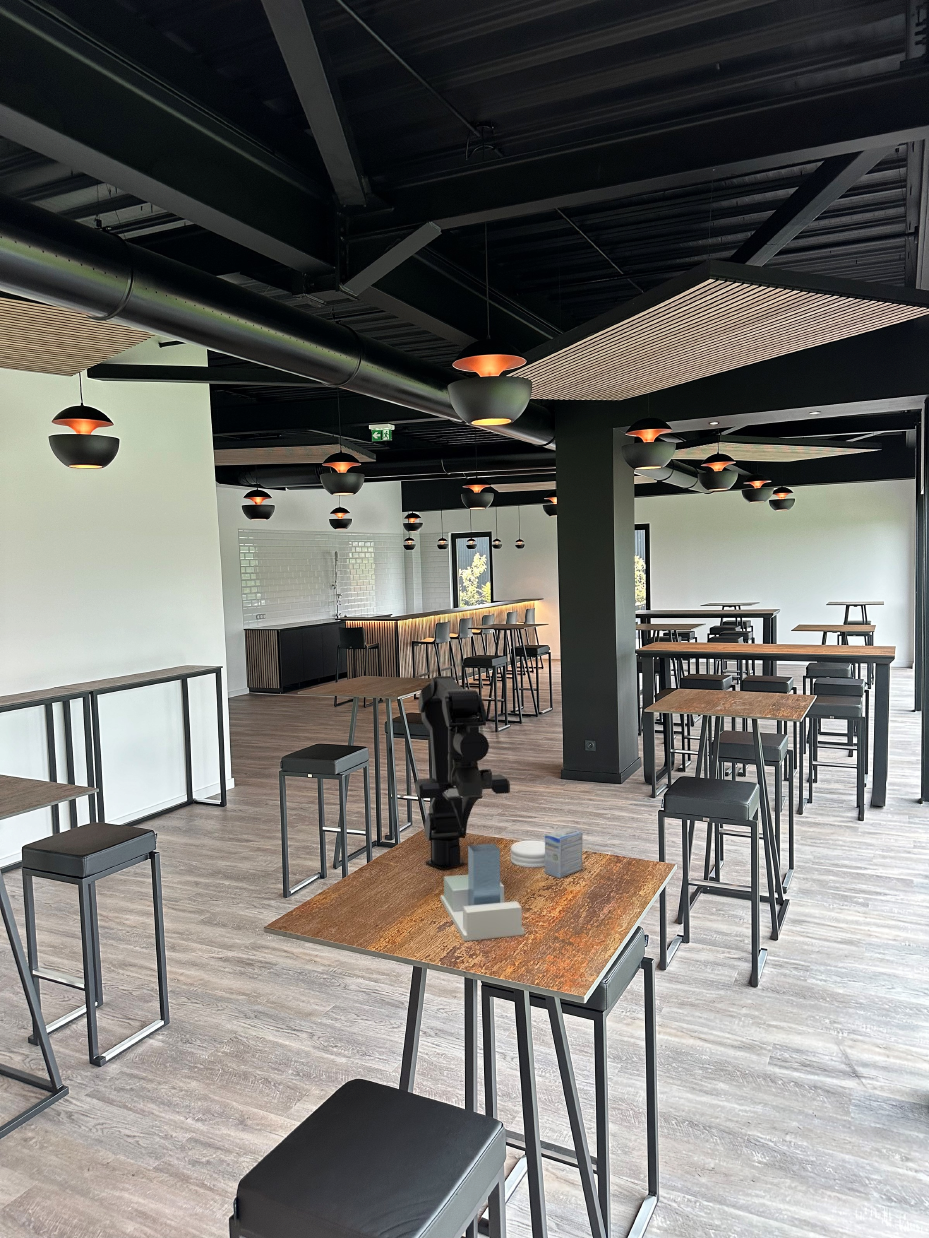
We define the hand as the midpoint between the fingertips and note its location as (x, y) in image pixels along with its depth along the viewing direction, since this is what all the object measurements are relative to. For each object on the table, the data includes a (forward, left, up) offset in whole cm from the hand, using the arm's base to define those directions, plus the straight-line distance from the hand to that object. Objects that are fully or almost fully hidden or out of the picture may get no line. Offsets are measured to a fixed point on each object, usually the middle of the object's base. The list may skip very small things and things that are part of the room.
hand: (462, 827), depth 167 cm
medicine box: (+7, +24, -13) cm, 28 cm away
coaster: (-3, +25, -14) cm, 28 cm away
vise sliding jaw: (+8, -4, -12) cm, 15 cm away
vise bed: (+12, -7, -13) cm, 19 cm away
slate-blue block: (+14, -8, -12) cm, 21 cm away
